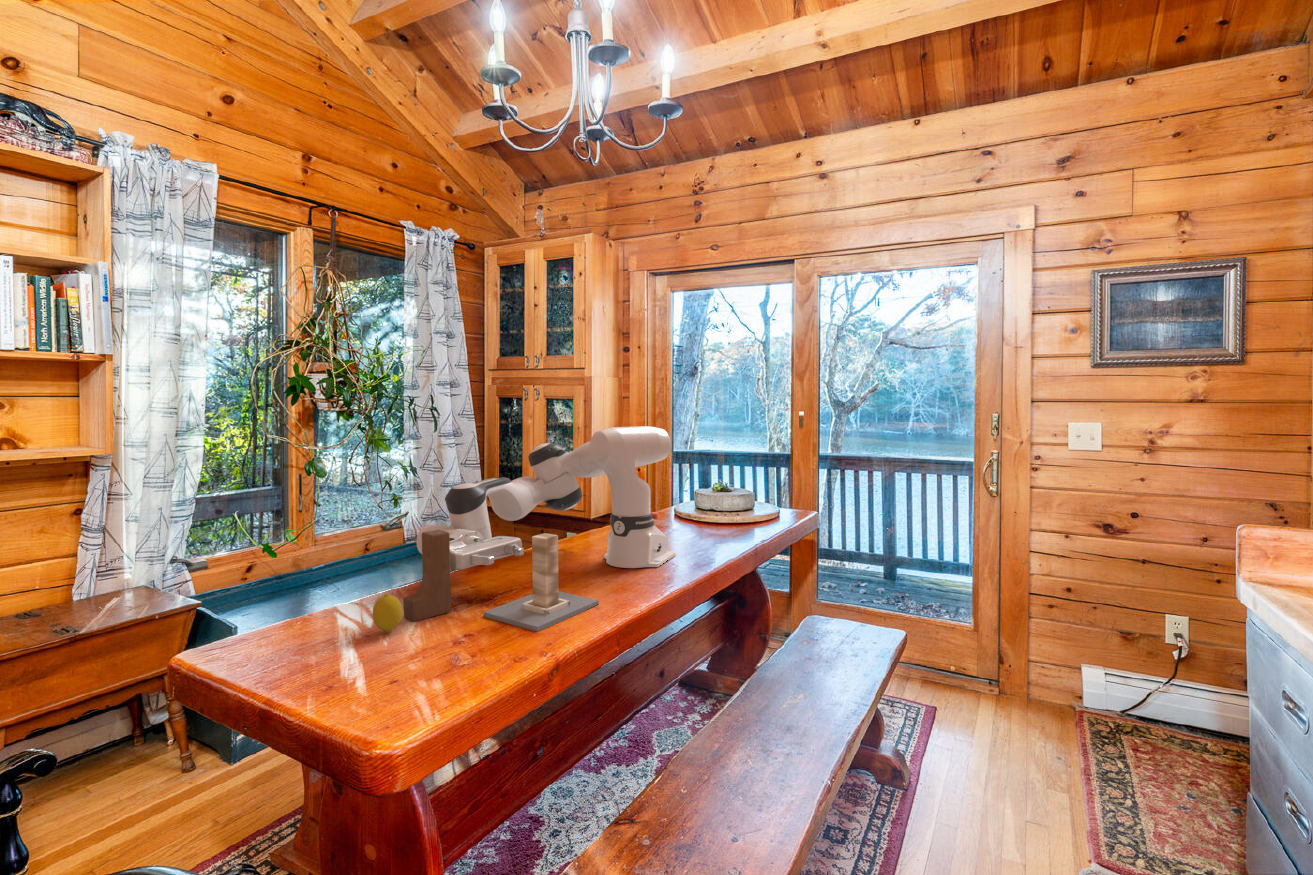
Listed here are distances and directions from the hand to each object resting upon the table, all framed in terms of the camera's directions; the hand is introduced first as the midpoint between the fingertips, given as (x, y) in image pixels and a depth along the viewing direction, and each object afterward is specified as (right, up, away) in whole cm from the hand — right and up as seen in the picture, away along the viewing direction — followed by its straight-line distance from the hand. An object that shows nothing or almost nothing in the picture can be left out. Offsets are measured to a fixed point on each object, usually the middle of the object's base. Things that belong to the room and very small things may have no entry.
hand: (507, 556), depth 148 cm
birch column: (+10, -10, -6) cm, 15 cm away
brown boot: (-16, -11, -8) cm, 21 cm away
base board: (+9, -11, -5) cm, 15 cm away
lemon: (-20, -12, -18) cm, 30 cm away
